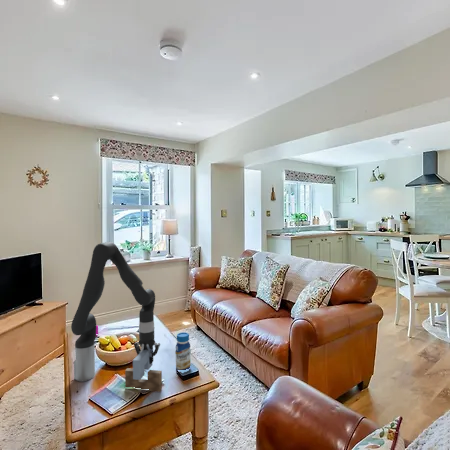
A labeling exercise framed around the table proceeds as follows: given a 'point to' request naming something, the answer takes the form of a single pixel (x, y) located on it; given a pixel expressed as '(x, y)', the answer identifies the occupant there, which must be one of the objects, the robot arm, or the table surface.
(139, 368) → the grey block
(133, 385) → the u-shaped brown bracket
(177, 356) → the beverage bottle
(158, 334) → the table surface
